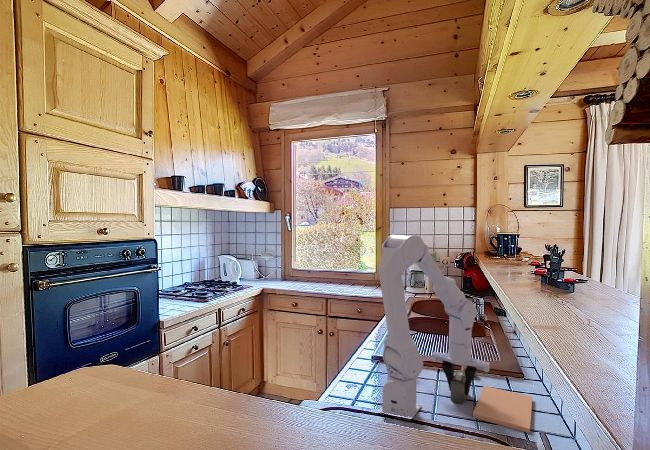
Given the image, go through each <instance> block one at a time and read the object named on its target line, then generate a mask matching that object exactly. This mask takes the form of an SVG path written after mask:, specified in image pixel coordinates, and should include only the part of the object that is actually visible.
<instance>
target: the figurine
mask: <svg viewBox="0 0 650 450" xmlns="http://www.w3.org/2000/svg"><path fill="white" fill-rule="evenodd" d="M466 368H467V367H465V366H461V369H460V373H463V374H465V370H466ZM477 374H478V370H477V371H476V373H475V375H474V377H476V375H477Z"/></svg>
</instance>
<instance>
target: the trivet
mask: <svg viewBox="0 0 650 450" xmlns="http://www.w3.org/2000/svg"><path fill="white" fill-rule="evenodd" d="M476 402H477V403H476V405H475V407H474V410H473V412H472V418H474V419H478V420H483V421H484V422H485V421H486V422H488V423H489V422H490V423H493V424H496V425H499V426H503V427H507V428H510V429H514V430H517V431H520V432H524V433H527V434H531V426H532V425H531V423H532V413H533V411H532V410H533V409H532V408H533V396H531V395H530V396H529V395H526V394H522V393H517V392H513V391H508V390H505V389H500V388H495V387H492V386H488V385H483V387H482V390H481V392H480V395H479V397H478V400H477V401H476Z"/></svg>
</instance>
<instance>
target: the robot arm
mask: <svg viewBox="0 0 650 450" xmlns="http://www.w3.org/2000/svg"><path fill="white" fill-rule="evenodd" d="M381 250H382V253H381V257H380V262H379V265H378V276H379V277H378V278H379V283H380V288H381V296H382V302H383V310H384V315H385V322H386V323H385V324H386V329H387V335H388V337H387V336H386V338H385V339H384V340H383V345H384V346H383V352H382V359H383V362H384V363H385V364H387V367H386V369H387V380H386V383H385V384H384V386H383V387H382V405H381V408H380V409H378V412H379V411H382V412H384V413H390V414H394V415H400V416H404V417H408V416H409V417H413V418H414V417H415V416H416V414H417V413H418V412H419V410H420V409H421V408H422V403H418V402H417V380H418V378H419V376H420V374H421V373H422V372H423V368H424V360H423V358H422V355H421V354H420V353H419V347H418V346H417V344H416V342H415V341H414V339H413V338H412V336H411V331H410V330H411V329H410V324H409V316H408V311H407V302H406V298H405V289H404V283H403V277H402V275H403V274H404V273H405V272H406V270H408V269H410V267H412V266H413V265H414V264H415V265H417V267H418V268H419V269H420V270H421V271H422V273H424V274H425V276H426V278H427V279H429V280H430V282H431V283H432V284H433V286H432V290H433V292H434V293H435V295H436V296H437V297H438V299H439V300H440V301H441V303H442V304H443V305H444V313H445V314H447V315H448V317H449V320H448V321H449V325H448V326H449V327H448V329H449V331H448V352H439V351H433V352H432V354H431V361H433V362H436V361H438V362H442V364H441V368H442V371H443V372H444V373H443V374H444V375H445V377H446V381H447V384H448V391H449V392H451V380H452V378H453V376H454V375H455V365H457V366H461V367H462V366H465V367H467V368H466V370H465V380H466V385H465V395H467V396H468V395H469V393H470V389H471V385H472V381H473V379H474V377H475V376H476V374H475V373H476V371H477V372H478V370H479V371H483V372H485V373H489V372H490V362H488V361H483V360H480V359H477V358H473V357H472V331H473V326H474V321H475V319H476V317H477V314H478V309H477V308H476V305H475V304H474V302H473V301H472V300H470V299H467V298H466V295H465V293H464V292H463V291H462V290H461V289H460V288H459V287H458V286H457V284H456V283H457V281H456V280H455V279H454V278H451V277H449V276H445V275H444V274H443V272H442V271H441V269H440V268H439V266H438V264H437V262H435V260H434V258H433V257H432V254H431V253H430V252H429V247H428V245H427V244H426V243H425V242H424V240H423V239H422V238H421V236H418V235H400V234H391V235H389V236H388V237H387V238H386V240H384V242H383V243H382V244H381ZM474 375H475V376H474Z"/></svg>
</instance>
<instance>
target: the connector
mask: <svg viewBox="0 0 650 450" xmlns="http://www.w3.org/2000/svg"><path fill="white" fill-rule="evenodd" d="M465 385H466V380H465V374H463V373H462V372H461V371H460V372H458V371H457V372H455V373H454V376H453V378H452V380H451V391H450V401H451V402H452V403H454V404H458V405H462V404H465V401H466V399H467V397H468V395H465Z"/></svg>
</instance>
